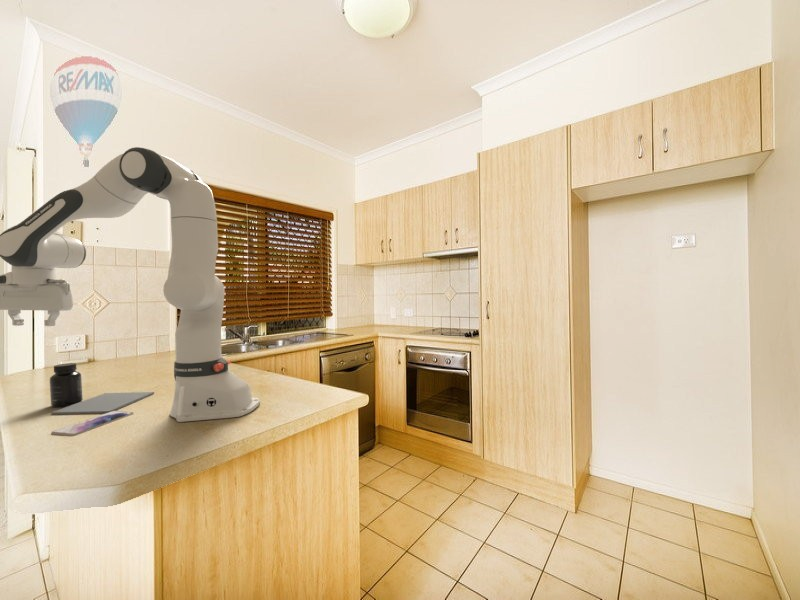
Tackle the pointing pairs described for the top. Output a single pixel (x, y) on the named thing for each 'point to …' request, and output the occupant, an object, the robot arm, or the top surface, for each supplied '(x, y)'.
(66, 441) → the top surface
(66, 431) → the smartphone
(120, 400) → the rubber mat
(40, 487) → the top surface
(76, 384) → the supplement bottle
